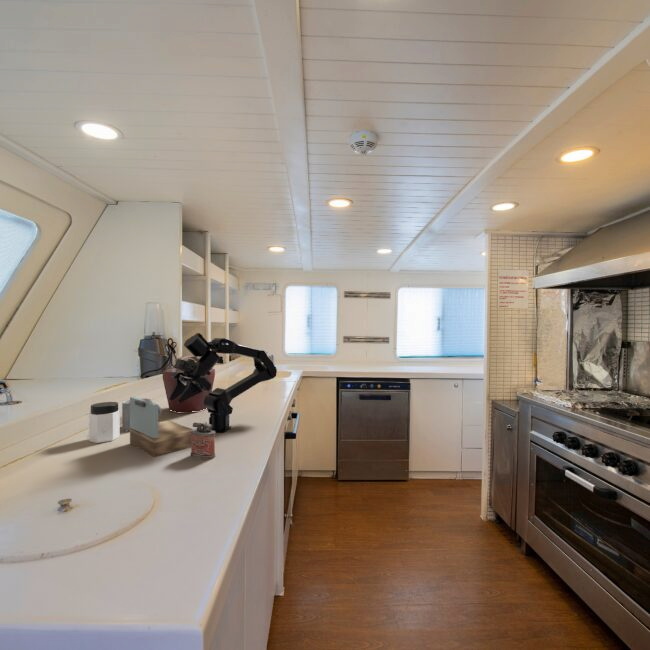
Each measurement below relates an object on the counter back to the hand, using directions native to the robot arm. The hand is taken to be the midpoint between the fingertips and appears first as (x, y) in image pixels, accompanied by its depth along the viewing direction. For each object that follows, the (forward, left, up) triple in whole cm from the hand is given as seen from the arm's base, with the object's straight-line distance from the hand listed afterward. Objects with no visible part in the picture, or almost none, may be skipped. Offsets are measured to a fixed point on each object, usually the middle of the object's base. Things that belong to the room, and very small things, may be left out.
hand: (174, 401), depth 119 cm
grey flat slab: (+5, +9, -9) cm, 14 cm away
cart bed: (+2, +4, -14) cm, 14 cm away
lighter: (-17, +11, -14) cm, 24 cm away
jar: (+25, +2, -14) cm, 29 cm away
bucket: (+22, -44, -14) cm, 51 cm away
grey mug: (+23, -14, -14) cm, 30 cm away
